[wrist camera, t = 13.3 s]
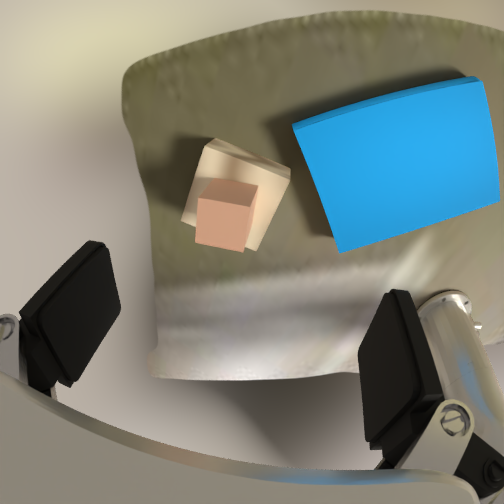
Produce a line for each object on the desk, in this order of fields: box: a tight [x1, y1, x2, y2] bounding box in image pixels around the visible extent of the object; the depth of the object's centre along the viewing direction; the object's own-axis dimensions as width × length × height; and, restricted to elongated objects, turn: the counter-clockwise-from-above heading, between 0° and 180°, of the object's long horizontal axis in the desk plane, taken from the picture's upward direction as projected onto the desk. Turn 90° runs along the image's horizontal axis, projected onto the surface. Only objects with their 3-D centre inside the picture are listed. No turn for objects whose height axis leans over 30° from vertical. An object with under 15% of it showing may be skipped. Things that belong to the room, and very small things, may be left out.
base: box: [181, 138, 291, 251], centre depth 36 cm, size 10×10×5 cm
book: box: [292, 76, 500, 253], centre depth 31 cm, size 17×4×25 cm
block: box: [195, 178, 258, 252], centre depth 31 cm, size 5×5×6 cm
